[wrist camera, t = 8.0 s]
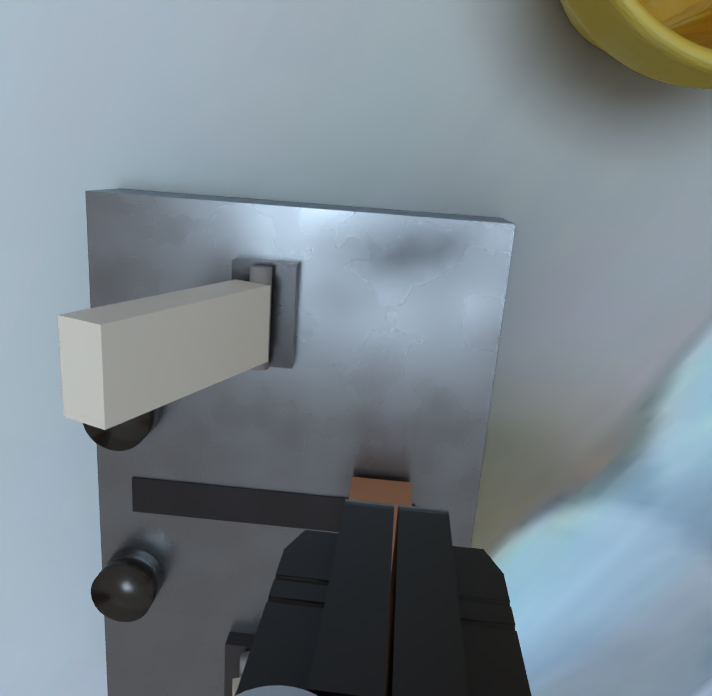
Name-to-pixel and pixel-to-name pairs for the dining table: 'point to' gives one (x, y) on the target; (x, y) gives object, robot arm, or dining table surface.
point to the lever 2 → (242, 664)
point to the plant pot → (651, 36)
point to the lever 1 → (162, 347)
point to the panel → (283, 408)
